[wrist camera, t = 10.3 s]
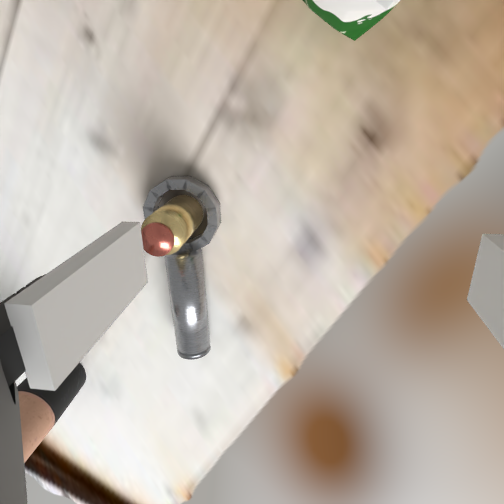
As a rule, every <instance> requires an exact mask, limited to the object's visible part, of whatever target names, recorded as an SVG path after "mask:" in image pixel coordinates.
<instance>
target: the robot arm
mask: <svg viewBox="0 0 504 504" xmlns="http://www.w3.org/2000/svg"><path fill="white" fill-rule="evenodd" d="M147 283H148V278H147V271H146V263H145V256H144V249H143V241H142V234H141V226H140V222H121V223H120V224H118V225H117V226H115V227H114V228H112V229H111V230H110V231H108V232H107V233H105V234H104V235H102V236H101V237H99V238H98V239H97V240H95V241H94V242H92V243H91V244H89V245H88V246H86V247H85V248H84V249H82V250H81V251H79V252H78V253H76V254H75V255H73V256H72V257H71V258H69V259H68V260H66V261H65V262H63V263H62V264H60V265H59V266H58V267H56V268H55V269H53V270H52V271H50V272H49V273H47V274H45V275H43V276H40V277H38V278H36V279H35V280H33V281H32V282H30V283H29V284H28V285H26V287H23V288H22V289H20V290H19V291H17V293H16V294H15V293H14V294H13V295H11V296H10V297H8V298H7V299H6V300H4V301H3V302H1V303H0V504H27V492H26V480H25V468H24V455H23V443H22V431H21V419H20V406H19V394H18V389H17V386H16V383H15V381H16V380H17V379H18V378H19V377H20V376H21V375H22V374H23V373H24V372H25V373H26V377H27V380H28V383H29V386H30V388H31V389H41V390H51V391H55V390H56V389H57V388H58V387H59V386H60V385H61V383H62V382H63V381H64V380H65V379H66V378H67V376H68V375H69V374H70V373H71V372H72V370H73V369H74V368H75V367H76V366H77V365H78V363H79V362H80V361H81V360H82V359H83V358H84V356H85V355H86V354H87V353H88V352H89V351H90V349H91V348H92V347H93V346H94V345H95V344H96V342H97V341H98V340H99V339H100V338H101V337H102V335H103V334H104V333H105V332H106V331H107V329H108V328H109V327H110V326H111V325H112V324H113V322H114V321H115V320H116V319H117V318H118V317H119V315H120V314H121V313H122V312H123V311H124V310H125V308H126V307H127V306H128V305H129V304H130V303H131V301H132V300H133V299H134V298H135V297H136V296H137V294H138V293H139V292H140V291H141V290H142V288H143V287H144V286H145V285H146V284H147ZM467 301H468V302H469V303H470V305H471V306H472V307H473V309H474V310H475V311H476V313H477V314H478V315H479V317H480V318H481V319H482V321H483V322H484V323H485V325H486V326H487V327H488V329H489V330H490V331H491V333H492V334H493V335H494V337H495V338H496V339H497V341H498V342H499V343H500V345H501V346H502V347H503V348H504V235H502V234H501V235H500V234H483V235H482V238H481V243H480V247H479V251H478V255H477V260H476V264H475V268H474V272H473V276H472V281H471V285H470V289H469V293H468V298H467Z"/></svg>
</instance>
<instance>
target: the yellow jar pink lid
mask: <svg viewBox="0 0 504 504" xmlns="http://www.w3.org/2000/svg"><path fill="white" fill-rule="evenodd" d="M202 220H203V210H202V207H201V205H200V204H199V202H198V201H197V200H196V199H194V198H193V197H191V196H188V195H178V196H175V197H174V198H172V199H171V200H170V201H168V202H167V203H166V204H164V205H163V206H162V207H160V208H159V209H158V210H156V211H155V212H154V213H152V214H151V215H150V216H148V217H147V218H146V219H145V220H144V222H143V224H142V227H141V234H142V241H143V249H144V250H145V251H146V252H147V253H149V254H151V255H153V256H164V255H170V254H173V253H175V252H177V251H178V250H179V249H180V248H181V247H182V246H183V244H184V243H185V242H186V241H187V240H188V238H189V237H190V236H191V235H192V234H193V233H194V231H195V230H196V229H197V228H198V227H199V226H200V224H201V223H202Z"/></svg>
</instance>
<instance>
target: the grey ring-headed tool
mask: <svg viewBox="0 0 504 504" xmlns="http://www.w3.org/2000/svg"><path fill="white" fill-rule="evenodd" d="M169 190H186V191H188V192H190V193H191V194H193V195H195V196H197V197H198V198H199V199H200V201H201V202H202V204H203V205H204V207H205V208H206V210H207V221H208V225H207V227H206V229H205V231H204V233H202V234H200V235H199V236H197V237H195V238H188V240H187V241H186V242H185V243H184V244H183V246H182V247H181V248H180V249H179V250H178V251H177V252H175V253H173V254H170V255H165V261H166V269H167V276H168V284H169V291H170V299H171V306H172V314H173V321H174V329H175V336H176V344H177V351H178V354H179V356H180V357H182V358H185V359H198V358H201V357H203V356H205V355H206V354H207V353H208V352H209V351H210V336H209V326H208V315H207V304H206V293H205V282H204V271H203V261H202V250H201V248H202V247H204V246H205V245H207V244H209V243H210V241H211V240H212V239H213V237H214V235H215V233H216V231H217V229H218V227H219V225H220V223H221V212H220V203H219V201H218V199H217V198H216V196H215V195H214V193H213V192H212V190H211V189H210V187H209V186H208V185H206V184H204V183H202V182H201V181H199V180H197V179H195V178H193V177H192V176H171V177H170V178H168V179H166V180H165V181H163V182H162V183H160V184H159V185H157V186H156V187H154V188H152V189H151V190H150V192H149V194H148V196H147V199H146V201H145V204H144V206H143V211H144V217H145V219H146V218H147V217H148V216H150V215H151V214H152V213H154V212H155V211H156V210H158V209H159V203H160V201H161V199H162V197H163V194H164V193H165V192H167V191H169Z"/></svg>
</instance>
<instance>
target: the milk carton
mask: <svg viewBox="0 0 504 504" xmlns="http://www.w3.org/2000/svg"><path fill="white" fill-rule="evenodd" d="M303 1H304V2H305V3H306V5H307V6H308V7H309V8H310V9H311V10H312V11H313V12H314V13H316V14H317V15H318V16H319V17H321V18H322V19H323V20H324V21H326V22H327V23H328V24H329V25H331V26H332V27H333V28H334V29H336V30H337V31H339V32H340V33H342V34H344V35H346V36H347V37H349V38H351V39H353V40H354V41H355V40H356V39H357V38H359V37H360V36H361V35H362V34H364V33H365V32H366V31H367V30H369V29H370V28H371V27H373V26H374V25H375V24H376V23H377V22H379V21H380V20H381V19H382V18H383V17H384V16H386V15H387V14H388V13H389V12H390V11H391V10H392V9H393V8H394V7H395V6H396V4H397V3H398V2H399V1H400V0H303Z"/></svg>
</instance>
